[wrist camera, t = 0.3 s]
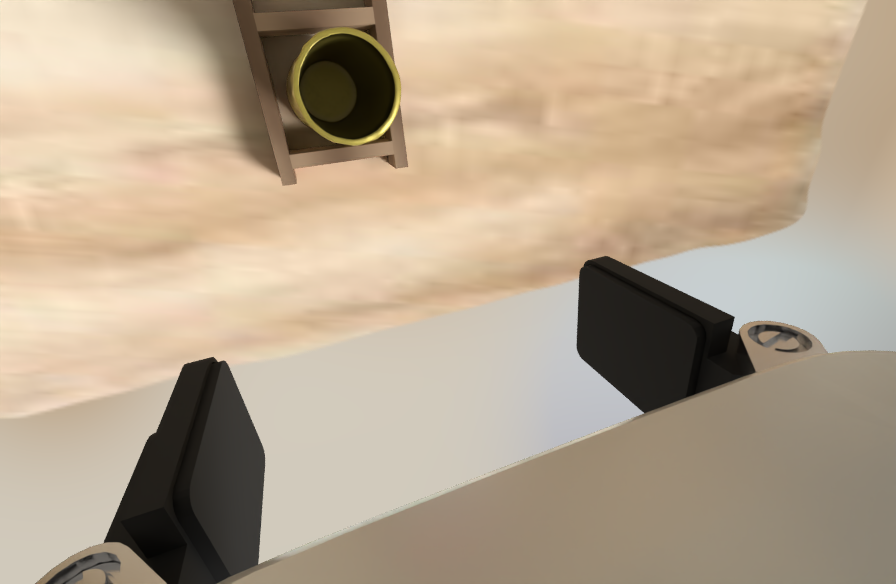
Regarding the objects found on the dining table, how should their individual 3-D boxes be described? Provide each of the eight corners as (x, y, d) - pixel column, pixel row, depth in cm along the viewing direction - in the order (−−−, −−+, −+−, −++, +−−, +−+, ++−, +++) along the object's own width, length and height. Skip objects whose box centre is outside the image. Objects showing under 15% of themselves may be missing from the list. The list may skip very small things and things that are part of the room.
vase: (282, 123, 32) (275, 139, 20) (290, 35, 30) (289, -8, 18) (360, 142, 34) (397, 166, 22) (373, 61, 32) (421, 39, 20)
